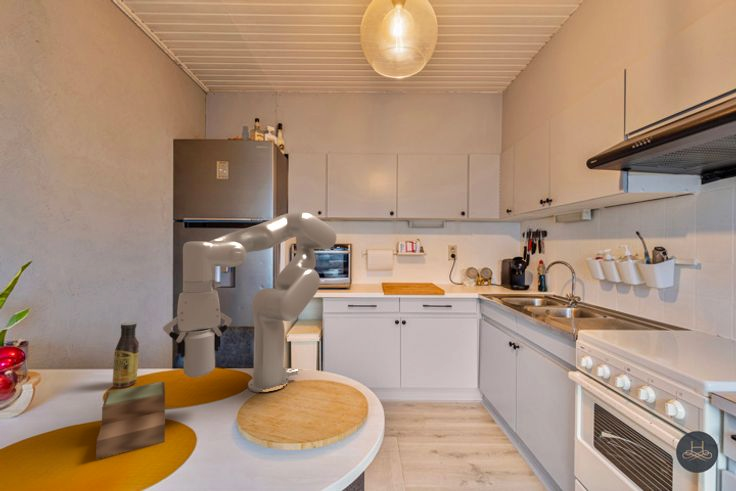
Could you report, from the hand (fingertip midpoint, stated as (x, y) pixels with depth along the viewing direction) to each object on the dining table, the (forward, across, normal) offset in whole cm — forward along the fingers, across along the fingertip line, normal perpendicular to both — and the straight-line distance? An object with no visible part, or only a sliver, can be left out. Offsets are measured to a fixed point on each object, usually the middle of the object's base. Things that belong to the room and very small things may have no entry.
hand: (199, 352), depth 84 cm
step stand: (+16, +14, +1) cm, 21 cm away
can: (+6, 0, 0) cm, 6 cm away
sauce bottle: (+17, +18, -33) cm, 41 cm away
